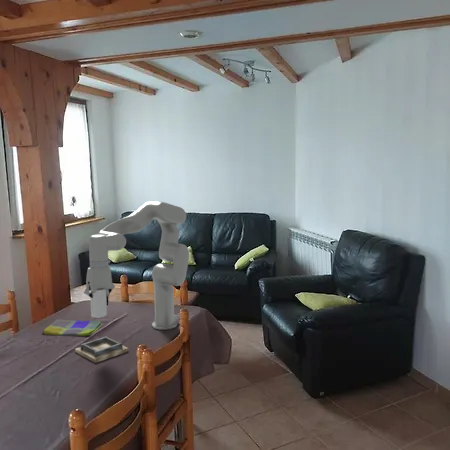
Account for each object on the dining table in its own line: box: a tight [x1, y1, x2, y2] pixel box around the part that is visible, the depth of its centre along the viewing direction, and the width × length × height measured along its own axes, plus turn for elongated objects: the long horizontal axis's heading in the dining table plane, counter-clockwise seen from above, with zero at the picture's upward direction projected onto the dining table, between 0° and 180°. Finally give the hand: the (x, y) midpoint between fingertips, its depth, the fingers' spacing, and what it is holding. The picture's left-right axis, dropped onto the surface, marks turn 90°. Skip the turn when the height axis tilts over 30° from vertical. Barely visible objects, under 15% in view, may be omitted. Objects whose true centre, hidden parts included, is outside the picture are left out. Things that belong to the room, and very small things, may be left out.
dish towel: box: [42, 318, 104, 337], centre depth 220 cm, size 18×24×3 cm
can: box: [90, 289, 108, 319], centre depth 190 cm, size 6×6×12 cm
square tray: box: [74, 335, 129, 364], centre depth 193 cm, size 16×16×4 cm
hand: (100, 305), depth 191 cm, fingers closed on can, 4 cm apart
